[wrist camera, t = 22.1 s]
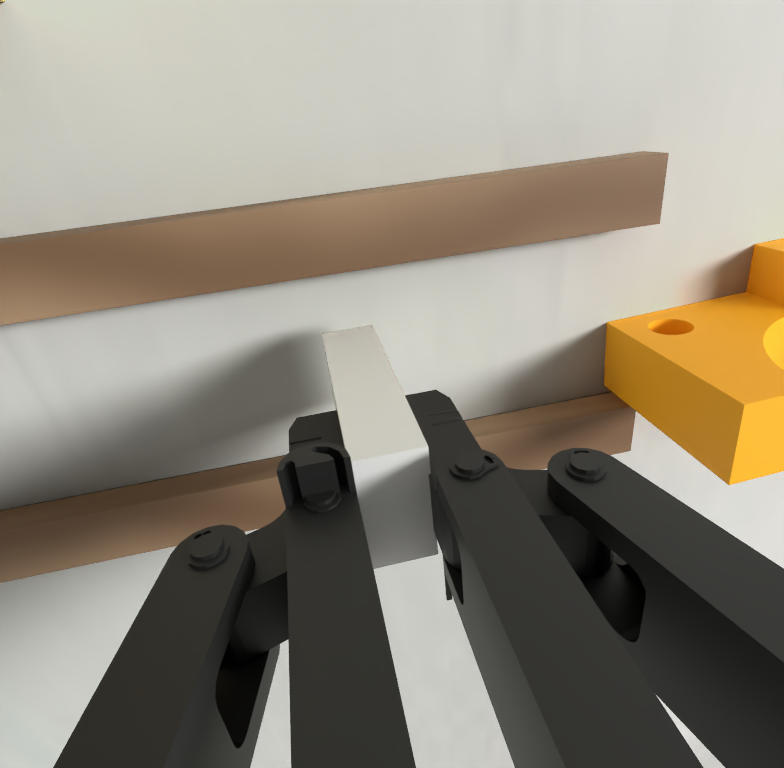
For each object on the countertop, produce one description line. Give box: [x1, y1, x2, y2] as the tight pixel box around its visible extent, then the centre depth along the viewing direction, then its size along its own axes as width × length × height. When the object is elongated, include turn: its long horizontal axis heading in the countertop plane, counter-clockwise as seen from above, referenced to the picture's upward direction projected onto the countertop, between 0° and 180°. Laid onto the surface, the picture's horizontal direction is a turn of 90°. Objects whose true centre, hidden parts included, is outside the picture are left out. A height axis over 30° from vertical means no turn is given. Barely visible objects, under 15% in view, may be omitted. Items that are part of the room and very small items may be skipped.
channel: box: [0, 151, 668, 583], centre depth 17 cm, size 10×24×1 cm, turn 96°
